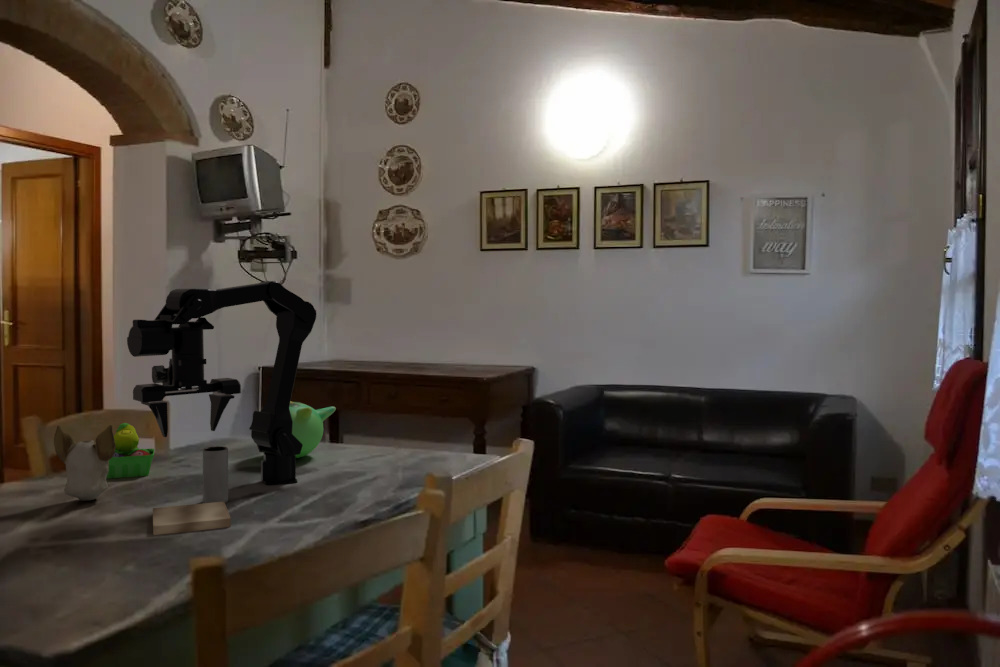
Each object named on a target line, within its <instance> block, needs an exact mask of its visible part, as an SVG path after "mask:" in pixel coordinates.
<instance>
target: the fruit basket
mask: <svg viewBox="0 0 1000 667" xmlns="http://www.w3.org/2000/svg"><path fill="white" fill-rule="evenodd" d="M113 436H114V440H115V444H116V447H115V454H114V455H113V457H112V458H111V459H110V460H109V468H108V473H107V477H106V479H114V478H115V479H116V478H131V477H146V476H147V477H148V476H149V475H150V471H151V467H152V466H151V465H152V463H153V459H154V457H155V451H156V449H155V448H139V447H138V445H139V441H140V438H139V435H138V434H137V430H136V428H135V427H134V426H133V425H132V424H130V423H127V422H124V423H121V424H119V425H118V427H117V429H116V432H115V433H114V434H113Z"/></svg>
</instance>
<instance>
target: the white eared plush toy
mask: <svg viewBox="0 0 1000 667" xmlns="http://www.w3.org/2000/svg"><path fill="white" fill-rule="evenodd" d="M53 438H54V439H53V447H54V450H55V453H56V456H57V457H58V458H59V460H60V461H61V462H63V463H64V464H65V471H66V474H67V476H66V477H67V479H66V484H65V486H64V489H63V492H64V494H65V495H67V496H70V497H73V498H76V499H77V500H79V501H83V502H85V501H90V502H91V501H93V500H95V499H98V498H99V497H100V496H101V495H102V494H103V493H104V492H106V491H107V490H109V485H108V483H107V478H106V477H107V473H108V468H109V460H110V459H111V458H112V457H113V455H114V454H115V447H116V444H115V440H114V433H113V424H110V425H108V426H107V427H106V428H105V429H104V430H103V431H102V432H101V433H99V434H97V436H96V437H95V440H93V439H87V440H80V441H78V442H76V441H75V439H74V437H72V436H71V435H70V434H68V433H67V432H66V431H64V430H63V429H62V428H61V426H60V425H57V426H56V430H55V433H54V437H53Z"/></svg>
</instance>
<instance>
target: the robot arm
mask: <svg viewBox="0 0 1000 667" xmlns="http://www.w3.org/2000/svg"><path fill="white" fill-rule="evenodd" d="M166 296H167V297H166V299H165V304H164V305H163V307H162V308H161V310H160V311H159V313H158V314H157V316H156V317H155V318H154V319H153V320H147V319H133V320H132V326H131V327H130V329H129V332H128V336H127V337H126V343H127V348H128V351H129V353H130V355H131V356H132V357H134V358H135V357H138V358H139V357H153V356H166V355H168V354H169V352H170V351H171V358H169V361H168V367H165V365H164V364H163V365H162V364H161V365H160V364H159V365H153V366H151V379H152V383H145V384H136V385H135V386H134V387H133V390H132V399H133V400H134V401H138V402H140V404H142V405H144V406H147V407H148V408H149V409H150V410H151V412H152V414H153V416H154V417H155V420H156V422H157V425H158V427H159V430H160V433H161V435H162V437H164V438H167V437H168V432H169V425H168V423H169V421H168V419H169V418H168V402H167V401H164V399H165V397H172V396H180V395H181V396H182V395H194V394H204V393H205V394H206V393H208V398H209V400H210V418H209V419H210V420H209V424H210V431H211V432H215V431H216V429H217V427H218V424H219V423H220V420H221V418H222V415H223V413H224V411H225V409H226V407H227V406H228V405H229V402H230V401H231V399H235V395H238V394H239V395H240V394H241V393H242V386H241V383H240V381H239V380H238V379H236V378H230V377H220V378H219V377H218V378H211V380H210V381H209V382H208V380H207V379H205V365H207V358H205V355H204V354H205V352H204V351H205V350H204V345H205V344H204V331H205V330H214V329H215V325H213V324H212V323H211V322H210V321H208V319H207V318H206V316H207V315H211V314H213V313H215V312H216V311H217V310H220V309H223V308H228V307H229V308H230V307H234V306H242V305H246V304H252V303H258V302H264V304H265V305H266V307H267V309H268V310H269V312H271V313H272V314H273V315H274V316H276V317H275V318H276V319H275V328H276V331H277V335H278V340H279V341H278V345H277V349H276V354H275V359H274V364H273V369H272V374H271V378H270V382H269V388H268V393H267V397H266V402H265V405H264V406H263V408H261V410H260V411H259V410H254V411H253V414H252V421H251V425H250V427H248V428H249V431H251V434H250V436H251V437H250V438H251V440H252V441H253V442H254V443H255V444H256V446H257V449H258V451H259V452H260V453H263V459H261V460H260V479H261V480H262V482H263V483H264V484H265V485H266V486H275V485H276V486H277V485H286V484H297V483H298V479H297V475H296V474H297V472H296V471H297V470H296V467H297V466H296V464H297V462H296V459H297V458H296V455H297V454H300V453H301V449H302V446H303V445H302V443H301V442H300V441H299V440H298V439H297V438H296V437H295V436H294V435H293V434H292V426H293V421H292V417H291V414H290V410H289V406H290V401H291V400H292V396H293V390H294V386H295V381H296V376H297V370H298V366H299V362H300V356H301V351H302V347H303V343H304V342H305V340H306V339H307V338H308V336H309V335H310V334H311V333H312V331H313V328H314V324H315V322H316V320H317V309H315V307H314V305H313V303H311V302H309V301H306V300H304V299H303V298H302V297H300V296H299V295H297V294H295V293H294V292H292V291H290V290H289V289H287V288H286V287H285V286H283V285H282V284H281V283H279V282H278V281H275V280H274V281H273V280H267V281H266V280H263V281H260V282H258V283H251V284H244V285H243V284H242V285H237V286H230V287H229V286H228V287H224V288H215V289H213V288H212V289H210V288H176V289H172V290H170V291H169V294H167V295H166ZM192 319H196V320H193V321H191V320H192ZM173 325H178V326H176V327H175V326H174V327H173ZM291 402H292V401H291Z"/></svg>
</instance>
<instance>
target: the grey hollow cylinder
mask: <svg viewBox="0 0 1000 667" xmlns="http://www.w3.org/2000/svg"><path fill="white" fill-rule="evenodd" d="M223 501H224V502H225V503H227V502H228V501H229V447H227V446H220V445H217V446H208V447H204V448H203V449H202V503H213V502H223Z"/></svg>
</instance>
